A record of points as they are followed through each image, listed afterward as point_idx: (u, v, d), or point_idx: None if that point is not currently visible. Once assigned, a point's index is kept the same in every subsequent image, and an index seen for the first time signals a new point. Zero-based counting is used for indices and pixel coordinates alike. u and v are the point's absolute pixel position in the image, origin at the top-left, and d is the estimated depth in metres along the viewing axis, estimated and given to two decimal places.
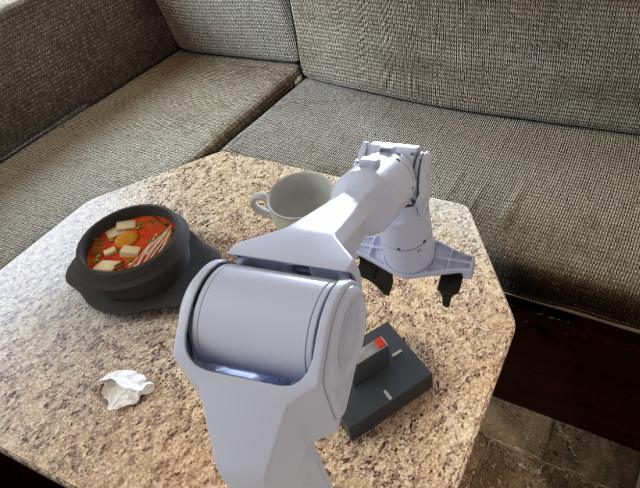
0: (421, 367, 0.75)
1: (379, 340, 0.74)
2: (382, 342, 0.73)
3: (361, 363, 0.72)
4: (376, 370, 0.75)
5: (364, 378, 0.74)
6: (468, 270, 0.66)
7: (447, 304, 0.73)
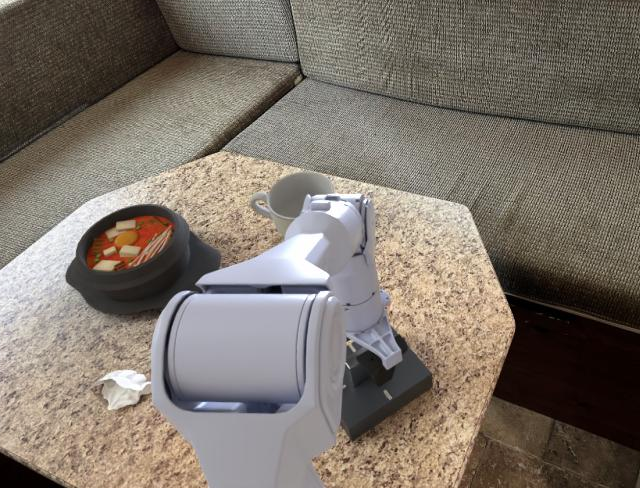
0: (421, 367, 0.75)
1: None
2: None
3: None
4: None
5: (364, 378, 0.74)
6: (383, 357, 0.63)
7: (375, 382, 0.70)
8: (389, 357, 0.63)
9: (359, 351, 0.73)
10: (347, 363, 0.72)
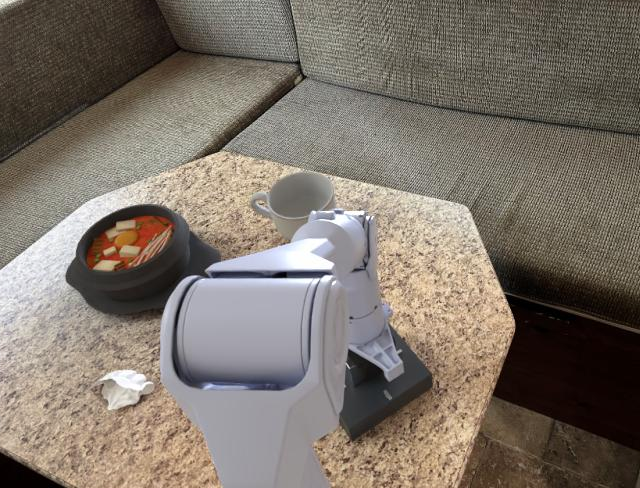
0: (421, 367, 0.75)
1: None
2: None
3: None
4: None
5: (364, 378, 0.74)
6: (386, 370, 0.64)
7: (365, 377, 0.73)
8: (391, 369, 0.64)
9: None
10: (347, 363, 0.72)
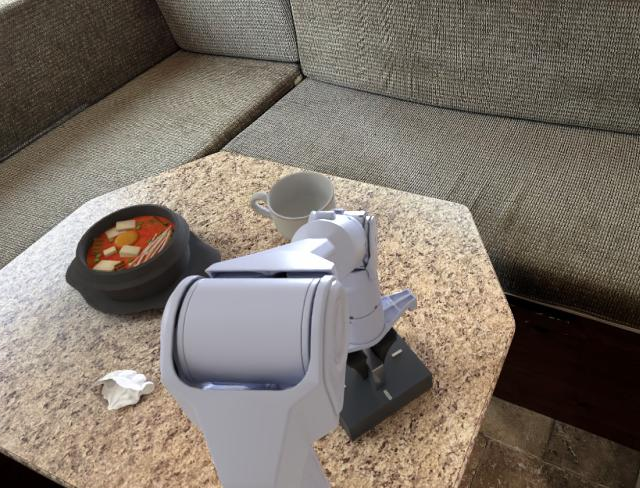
0: (421, 367, 0.75)
1: None
2: None
3: (376, 357, 0.73)
4: None
5: None
6: (414, 299, 0.71)
7: (383, 364, 0.74)
8: None
9: None
10: (377, 367, 0.71)
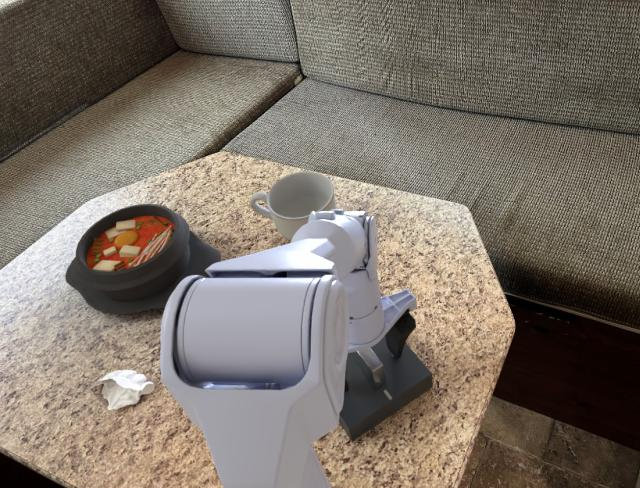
0: (421, 367, 0.75)
1: None
2: None
3: (376, 357, 0.73)
4: None
5: None
6: (414, 299, 0.71)
7: (401, 353, 0.75)
8: (413, 295, 0.72)
9: (364, 357, 0.72)
10: (377, 367, 0.71)
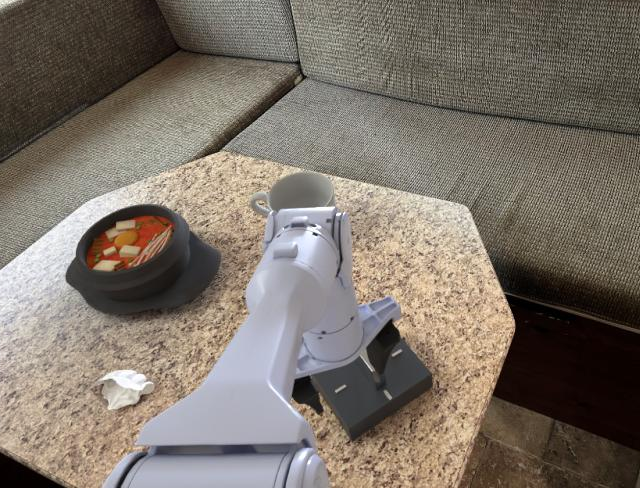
0: (421, 367, 0.75)
1: None
2: None
3: None
4: None
5: None
6: (398, 308, 0.62)
7: (384, 368, 0.66)
8: (397, 303, 0.62)
9: (364, 357, 0.72)
10: None
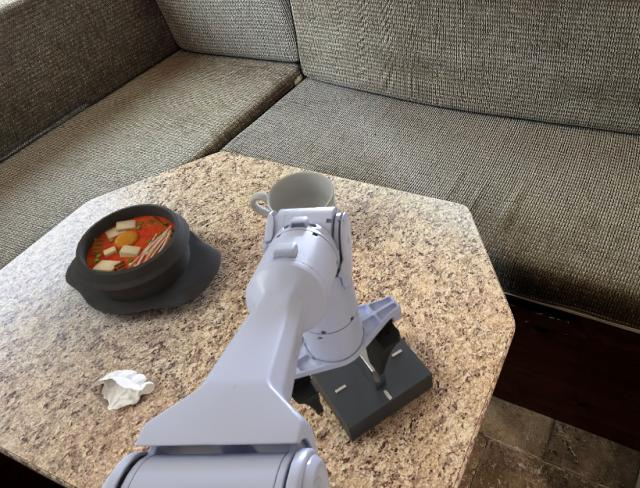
0: (421, 367, 0.75)
1: None
2: None
3: None
4: None
5: None
6: (398, 308, 0.62)
7: (384, 368, 0.66)
8: (397, 303, 0.62)
9: (364, 357, 0.72)
10: None
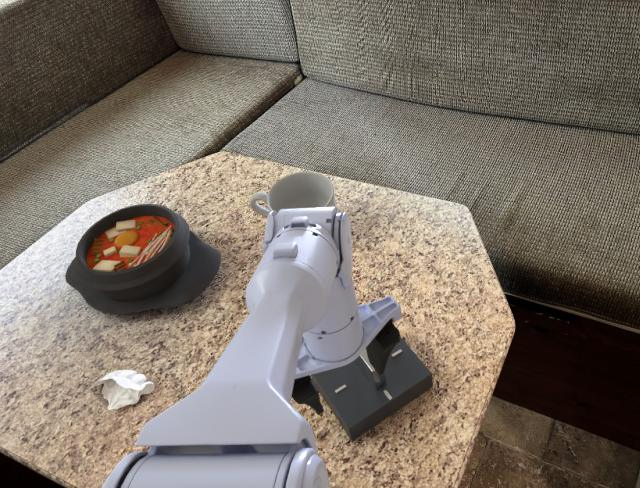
0: (421, 367, 0.75)
1: None
2: None
3: None
4: None
5: None
6: (398, 308, 0.62)
7: (384, 368, 0.66)
8: (397, 303, 0.62)
9: (364, 357, 0.72)
10: None
